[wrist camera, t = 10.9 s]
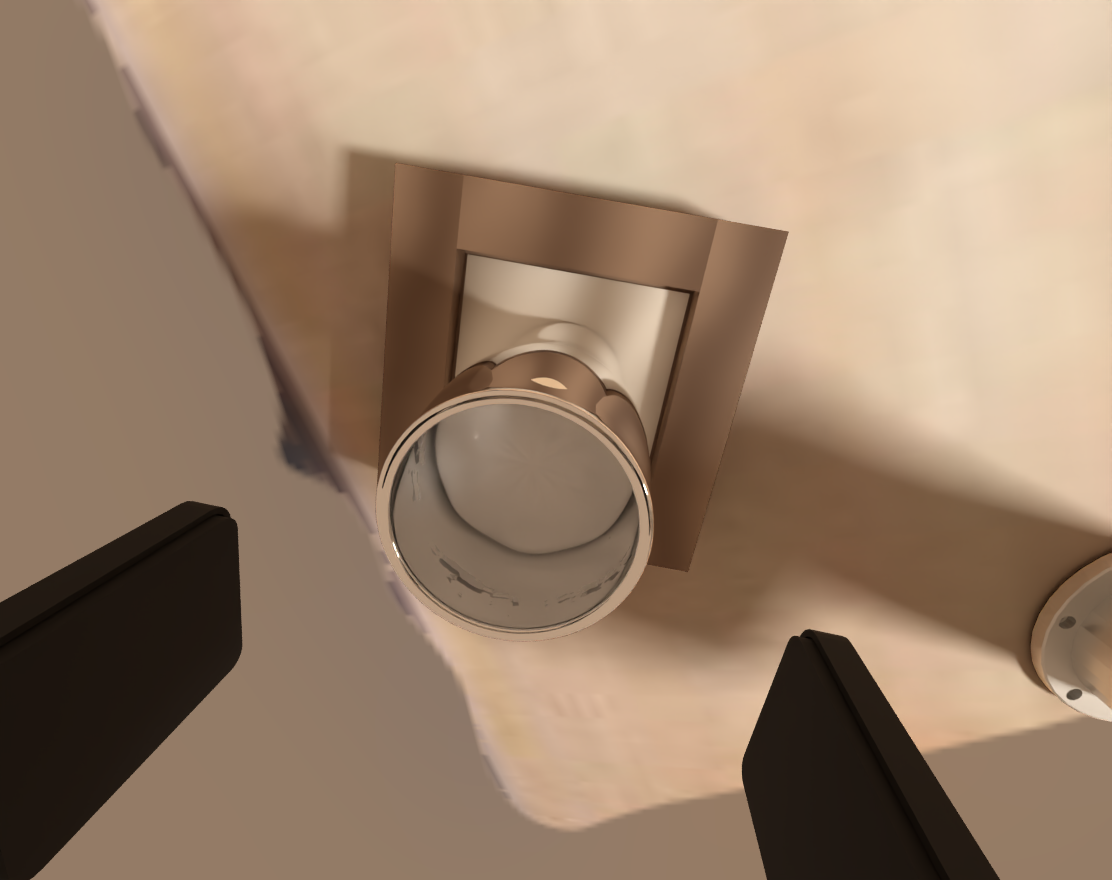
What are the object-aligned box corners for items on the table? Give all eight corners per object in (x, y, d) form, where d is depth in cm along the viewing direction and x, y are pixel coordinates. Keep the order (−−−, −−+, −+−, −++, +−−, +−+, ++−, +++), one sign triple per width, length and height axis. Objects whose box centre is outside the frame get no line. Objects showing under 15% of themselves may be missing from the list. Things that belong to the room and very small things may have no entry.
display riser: (758, 236, 26) (788, 231, 22) (676, 530, 32) (687, 571, 28) (428, 178, 27) (395, 162, 22) (405, 478, 32) (375, 511, 28)
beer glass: (507, 455, 28) (405, 658, 14) (480, 324, 26) (329, 402, 11) (638, 440, 27) (676, 640, 13) (622, 302, 25) (647, 358, 11)
